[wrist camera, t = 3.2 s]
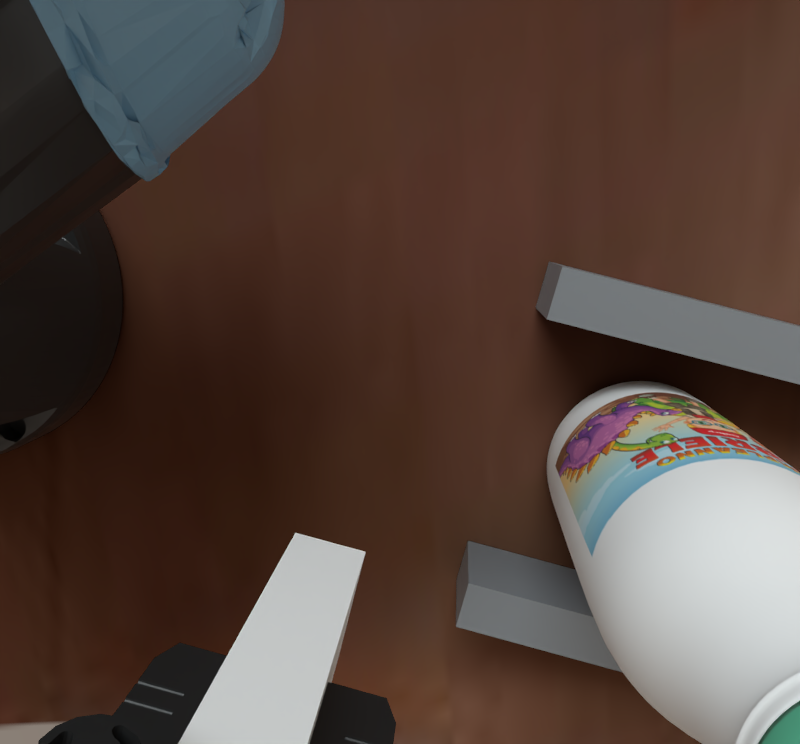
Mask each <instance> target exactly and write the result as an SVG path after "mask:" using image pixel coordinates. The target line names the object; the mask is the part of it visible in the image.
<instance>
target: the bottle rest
mask: <svg viewBox="0 0 800 744" xmlns="http://www.w3.org/2000/svg"><path fill="white" fill-rule="evenodd" d="M536 309H537V310H538V311H539V312H540V313H541V314H542V315H543V316H544V317H545V318H546V319H547V320H551V321H555V322H559V323H563V324H567V325H571V326H575V327H578V328H582V329H586V330H590V331H594V332H598V333H602V334H606V335H609V336H613V337H617V338H621V339H625V340H629V341H633V342H637V343H640V344H644V345H648V346H652V347H656V348H660V349H664V350H668V351H671V352H675V353H679V354H683V355H687V356H691V357H695V358H699V359H702V360H706V361H710V362H714V363H718V364H722V365H726V366H730V367H733V368H737V369H741V370H745V371H749V372H753V373H757V374H761V375H765V376H768V377H772V378H776V379H780V380H784V381H788V382H792V383H796V384H799V385H800V325H796V324H792V323H788V322H784V321H780V320H776V319H772V318H768V317H765V316H761V315H757V314H753V313H749V312H745V311H741V310H737V309H733V308H729V307H725V306H721V305H718V304H714V303H710V302H706V301H702V300H698V299H694V298H690V297H686V296H682V295H678V294H674V293H670V292H667V291H663V290H659V289H655V288H651V287H647V286H643V285H639V284H635V283H631V282H627V281H623V280H620V279H616V278H612V277H608V276H604V275H600V274H596V273H592V272H588V271H584V270H580V269H576V268H572V267H569V266H565V265H561V264H557V263H553V262H549V264H548V267H547V271H546V274H545V277H544V281H543V284H542V288H541V291H540V295H539V298H538V302H537V305H536ZM456 627H459V628H462V629H466V630H470V631H473V632H477V633H481V634H484V635H488V636H492V637H495V638H499V639H503V640H506V641H510V642H513V643H517V644H521V645H524V646H528V647H532V648H535V649H539V650H543V651H546V652H550V653H554V654H557V655H561V656H565V657H568V658H572V659H576V660H579V661H583V662H587V663H590V664H594V665H597V666H601V667H605V668H608V669H612V670H616V671H619V672H622V671H621V669H620V667H619V666H618V664H617V662H616V661H615V659H614V657H613V656H612V654H611V653H610V651H609V649H608V648H607V646H606V644H605V642H604V640H603V638H602V635H601V633H600V631H599V628H598V626H597V624H596V621H595V619H594V617H593V614H592V612H591V610H590V607H589V605H588V602H587V599H586V597H585V594H584V591H583V588H582V585H581V583H580V580H579V577H578V574H577V572H576V570H575V569H571V568H568V567H564V566H560V565H556V564H553V563H549V562H545V561H542V560H538V559H534V558H530V557H527V556H523V555H519V554H516V553H512V552H508V551H505V550H501V549H497V548H493V547H490V546H486V545H482V544H479V543H475V542H471V541H468V542H467V545H466V549H465V552H464V555H463V559H462V562H461V566H460V569H459V573H458V576H457V582H456Z"/></svg>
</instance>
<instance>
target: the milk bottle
mask: <svg viewBox="0 0 800 744" xmlns="http://www.w3.org/2000/svg"><path fill="white" fill-rule="evenodd" d="M547 480H548V485H549V490H550V494H551V498H552V501H553V504H554V507H555V510H556V513H557V516H558V519H559V522H560V525H561V528H562V531H563V534H564V537H565V540H566V543H567V546H568V549H569V552H570V555H571V558H572V560H573V563H574V566H575V569H576V572H577V574H578V577H579V580H580V583H581V585H582V588H583V591H584V594H585V597H586V599H587V602H588V605H589V607H590V610H591V612H592V614H593V617H594V619H595V621H596V624H597V626H598V628H599V631H600V633H601V635H602V638H603V640H604V642H605V644H606V646H607V648H608V649H609V651H610V653H611V654H612V656H613V657H614V659H615V661H616V662H617V664H618V666H619V667H620V669H621V671H622V672H623V673H624V675H625V676H626V677H627V679H628V680H629V681H630V683H631V684H632V685H633V686H634V687H635V689H636V690H637V691H638V692H639V693H640V695H641V696H642V697H643V698H644V699H645V700H646V701H647V702H648V703H649V704H650V705H651V706H652V707H653V708H654V709H656V710H657V711H658V712H659V713H660V714H661V715H662V716H663V717H665V718H666V719H667V720H668V721H670V722H671V723H672V724H674V725H675V726H676V727H678V728H679V729H681V730H682V731H683V732H685V733H686V734H688V735H689V736H691V737H692V738H694V739H695V740H697V741H699V742H700V743H702V744H800V472H798V471H797V470H796V469H794V468H793V467H792V466H790V465H789V464H788V463H786V462H785V461H783V460H782V459H781V458H779V457H778V456H777V455H775V454H774V453H773V452H771V451H770V450H769V449H767V448H766V447H765V446H763V445H762V444H761V443H759V442H758V441H756V440H755V439H754V438H752V437H751V436H750V435H748V434H747V433H745V432H744V431H743V430H741V429H740V428H738V427H737V426H736V425H734V424H733V423H731V422H730V421H729V420H727V419H726V418H724V417H723V416H722V415H720V414H719V413H717V412H716V411H715V410H713V409H712V408H710V407H709V406H707V405H706V404H705V403H703V402H702V401H700V400H698V399H697V398H695V397H693V396H692V395H690V394H688V393H687V392H685V391H683V390H681V389H678V388H676V387H673V386H670V385H667V384H663V383H658V382H652V381H631V382H623V383H619V384H615V385H612V386H609V387H606V388H603V389H601V390H599V391H597V392H595V393H593V394H591V395H589V396H588V397H587V398H585V399H584V400H582V401H581V402H580V403H578V404H577V405H576V406H575V407H574V408H573V409H572V410H571V411H570V412H569V413H568V414H567V415H566V417H565V418H564V419H563V421H562V422H561V424H560V425H559V427H558V428H557V430H556V432H555V434H554V437H553V439H552V441H551V445H550V448H549V452H548V457H547Z"/></svg>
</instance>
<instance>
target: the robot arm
mask: <svg viewBox="0 0 800 744" xmlns="http://www.w3.org/2000/svg"><path fill="white" fill-rule="evenodd" d="M283 21H284V0H0V454H2V453H6V452H9V451H11V450H13V449H16V448H18V447H20V446H22V445H24V444H27V443H29V442H31V441H33V440H35V439H37V438H39V437H41V436H43V435H45V434H47V433H49V432H51V431H53V430H54V429H56V428H57V427H59V426H61V425H62V424H64V423H65V422H66V421H68V420H69V419H70V418H71V417H72V416H74V415H75V414H76V413H77V412H78V411H79V410H80V409H81V408H82V407H83V406H84V405H85V404H86V403H87V402H88V400H89V399H90V398H91V397H92V395H93V394H94V393H95V391H96V390H97V388H98V387H99V385H100V384H101V382H102V380H103V378H104V377H105V375H106V373H107V371H108V368H109V366H110V364H111V361H112V359H113V356H114V353H115V350H116V347H117V343H118V339H119V334H120V329H121V321H122V307H123V300H122V283H121V275H120V269H119V264H118V260H117V255H116V252H115V248H114V245H113V242H112V239H111V237H110V234H109V231H108V229H107V226H106V224H105V222H104V220H103V218H102V216H101V214H100V212H99V210H100V209H101V208H103V207H104V206H105V205H107V204H108V203H109V202H111V201H112V200H113V199H115V198H116V197H117V196H119V195H120V194H121V193H123V192H124V191H125V190H127V189H128V188H129V187H131V186H132V185H133V184H135V183H136V182H137V181H139V180H140V179H141V178H142V179H144V180H145V181H151V180H152V179H154V178H155V177H157V176H158V175H160V174H161V173H162V172H163V171H164V170H165V169H166V168H167V166H168V165H169V159H170V154H171V153H172V152H173V151H175V150H176V149H177V148H178V147H179V146H180V145H181V144H182V143H184V142H185V141H186V140H187V139H188V138H189V137H190V136H191V135H192V134H194V133H195V132H196V131H197V130H198V129H199V128H200V127H201V126H202V125H204V124H205V123H206V122H207V121H208V120H209V119H210V118H211V117H213V116H214V115H215V114H216V113H217V112H218V111H219V110H220V109H221V108H223V107H224V106H225V105H226V104H227V103H228V102H230V101H231V100H232V99H233V98H234V97H236V96H237V95H238V94H239V93H240V92H242V91H243V90H244V89H245V88H246V87H247V86H249V85H250V84H251V83H252V82H253V81H254V80H255V79H256V78H257V77H258V76H259V75H260V74H261V73H262V72H263V70H264V69H265V68H266V66H267V65H268V63H269V62H270V60H271V59H272V57H273V55H274V53H275V51H276V49H277V46H278V43H279V40H280V37H281V33H282V27H283ZM365 553H366V552H365V551H361V550H357V549H354V548H350V547H346V546H343V545H339V544H335V543H332V542H328V541H324V540H321V539H317V538H313V537H310V536H306V535H302V534H299V533H295V534H294V536H293V538H292V540H291V542H290V543H289V545H288V547H287V549H286V551H285V552H284V554H283V556H282V558H281V560H280V561H279V563H278V565H277V567H276V568H275V570H274V572H273V574H272V576H271V577H270V579H269V581H268V583H267V585H266V586H265V588H264V590H263V592H262V594H261V595H260V597H259V599H258V601H257V603H256V604H255V606H254V608H253V610H252V612H251V613H250V615H249V617H248V619H247V621H246V622H245V624H244V626H243V628H242V630H241V631H240V633H239V635H238V637H237V639H236V640H235V642H234V644H233V646H232V648H231V649H230V651H229V653H228V655H227V656H225V655H222V654H218V653H215V652H211V651H208V650H204V649H200V648H197V647H193V646H190V645H186V644H183V643H179V644H177V645H175V646H174V647H172V648H170V649H169V650H167V651H165V652H164V653H162V654H160V655H159V656H157V657H155V658H154V659H153V661H152V662H151V663H150V665H149V666H148V668H147V669H146V670H145V672H144V673H143V675H142V676H141V677H140V679H139V681H138V683H137V684H135V686H134V687H133V688H132V690H131V691H130V692H129V694H128V695H127V697H126V699H125V701H124V702H122V704H121V705H120V706H119V708H118V709H117V710H116V712H115V713H114V715H113V716H111V715H103V714H97V715H90V716H83V717H76V718H74V719H72V720H69V721H67V722H65V723H62V724H60V725H57V726H55V727H54V728H53V729H52V730H51V731H49V732H48V733H47V734H46V735H45V736H44V737H42V738H41V739H40V740H39V744H393V741H394V733H395V726H396V722H395V720H394V717H393V714H392V712H391V709H390V706H389V704H388V701H387V698H384V697H380V696H377V695H373V694H370V693H366V692H362V691H359V690H355V689H352V688H348V687H345V686H341V685H337V684H334V683H331V682H332V679H333V675H334V672H335V669H336V665H337V661H338V657H339V653H340V649H341V646H342V642H343V638H344V634H345V630H346V626H347V622H348V619H349V615H350V611H351V607H352V603H353V599H354V595H355V591H356V588H357V584H358V580H359V576H360V572H361V568H362V564H363V561H364V557H365Z"/></svg>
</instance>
